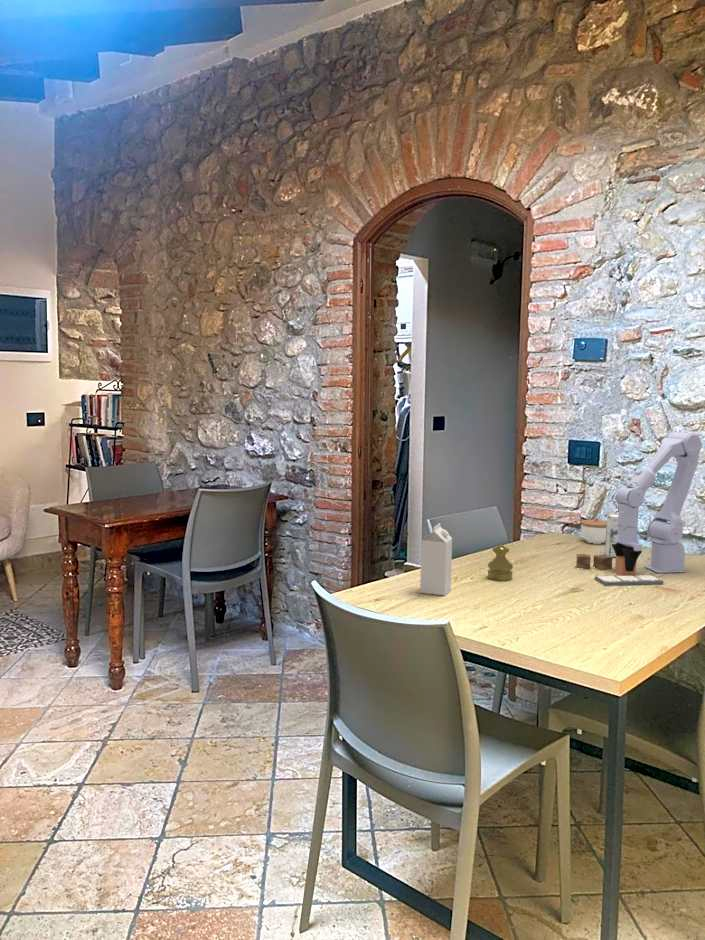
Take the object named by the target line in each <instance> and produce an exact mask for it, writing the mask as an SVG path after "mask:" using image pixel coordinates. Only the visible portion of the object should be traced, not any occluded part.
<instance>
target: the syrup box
mask: <svg viewBox="0 0 705 940" xmlns="http://www.w3.org/2000/svg"><path fill="white" fill-rule="evenodd" d="M618 517H619V513H606V521H607V525H606V541H605V542H604V544H605V545H604V546H605V547H604V548H605V549H604V555H606V556H609V557H612V558H613V557H616V554H615V551H614V549H613V547H612V544H616V542H614V541H613V535H618Z"/></svg>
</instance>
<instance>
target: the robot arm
mask: <svg viewBox="0 0 705 940" xmlns="http://www.w3.org/2000/svg"><path fill="white" fill-rule="evenodd" d="M702 446H703V442H702V440H701V438H700V436H699V435H698V434H697V433H694V432H689V433H688V432H681V431H674V430H673V431H672V430H671V431H669V432H668V433H666V434H665V436H664V438H662V439H661V446H660V447H659V448H658V450H657V451H656V452H655V454H654V456H653V457H652V458H651V459H650V461H649V462H648V464H647V465H646V467H642V468H641V467H640V468H639V469H637V470H636V471H635V474H634V475H633V476H632V478H630V480H629V481H628V482H627V483H626V485H625V486H622V487H620V488H619V489H618V490H617V492H616V494H615V495H614V497H615V501H616V503H617V508H618V514H619V517H618V535H613V541H614V542H616V544H612V547H613V549H614V551H615V554H616V556H624V558H625V569H626V571H633V570H634V567H635V564H636V565H637V560H638V558H639V557H640V556H641V554H642V552H643V550H642V548H643V547H642V546H643V545H642V544H641V543H640V541H638V527H639V526H638V525H639V509H640V506H641V505H642V504H643V503H644V499H645V496H646V493H647V491H648V490H649V489H650V488H651V486H652V485H653V484H654V482H656V481H657V480H656V479H657V476H656V474H657V473H658V472H659V471H660V470H661V469H662V468H663V467H664V466H665V465H666V463H668V462H669V461H670V459H672V458H674V459H675V460H676V462H677V466H676V469H675V472H674V474H673V477H672V480H671V483H670V486H669V489H668V491H667V494H666V497H665V499H664V502H663V506H662V508H661V510H660V511H658V512H656V513H655V514H653V517H652V519H651V521H649V523H648V524H647V528H646V532H647V535H648V536H649V537H650V541H651V552H650V565H644V568H647V569H649V570H650V571H653V572H655V573H658V574H661V573H665V574H666V573H668V574H669V573H685V572H686V570H685V561H686V560H685V559H686V558H685V557H686V552H685V551H686V549H685V546H684V544H683V543H682V542H681V540H682V538H683V536H684V535H683V533H684V525H685V522H684V520H683V518H681V516H680V515H681V513H682V510H683V507H684V505H685V504H684V503H685V502H686V499H687V496H688V493H689V492H690V487H691V484H692V481H693V478H694V476H695V473H696V471H697V467H698V465H699V459H700V457H699V455H700V453H701V449H702Z"/></svg>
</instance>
